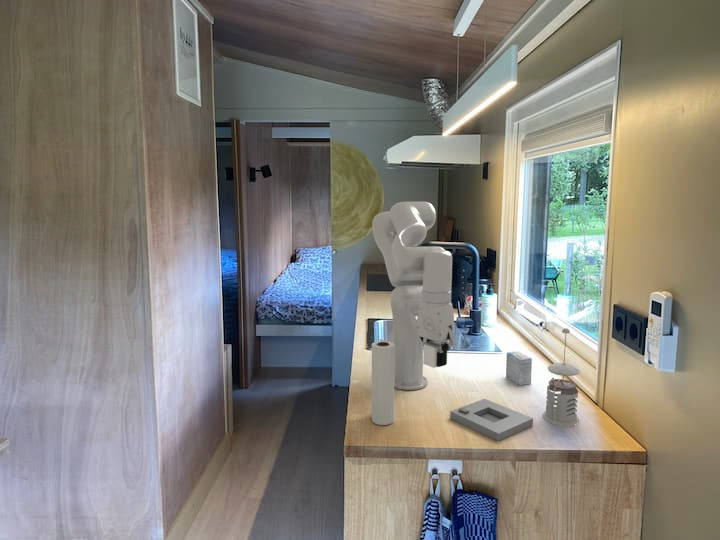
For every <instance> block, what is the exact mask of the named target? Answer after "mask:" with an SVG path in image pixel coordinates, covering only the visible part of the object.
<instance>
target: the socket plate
mask: <svg viewBox="0 0 720 540" xmlns="http://www.w3.org/2000/svg"><path fill="white" fill-rule="evenodd" d="M449 414H450V415H449V416H450V417H449V418H450V419H451V420H453V421H455V422H457V423H459V424H462V425H464V426H466V427H468V428H469V429H472V430H474V431H476V432H477V433H478V432H479V433H481V434H483V435H484V436H487V437H489V438H491V439H493V440H495V441H497V442H500V441H502V440H504V439H507V438H508V437H511V436H513V435H515V434H517V433H520V432H522V431H524V430H526V429H528V428H531V427H533V425H534V418H533V417H531V416H529V415H527V414H523V413H521V412H518V411H517V410H513V409H511V408H509V407H506V406H503V405H502V404H499V403H497V402H494V401H492V400H489V399H486V398H482V399H480V400H476V401H474V402H471V403H469V404H466V405H464V406H461V407H458V408H455V409H453V410H450V413H449Z"/></svg>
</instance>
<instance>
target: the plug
mask: <svg viewBox="0 0 720 540" xmlns="http://www.w3.org/2000/svg"><path fill="white" fill-rule="evenodd" d="M442 345H443V346H444V343H442ZM437 352H439V350H438V342H435V341H432V340H431V341H427V342H424V347H423V365H426V366H428V367H429V368H433V369H435V368H438V367H437ZM447 364H448V362H447V363H446V365H447Z"/></svg>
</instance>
